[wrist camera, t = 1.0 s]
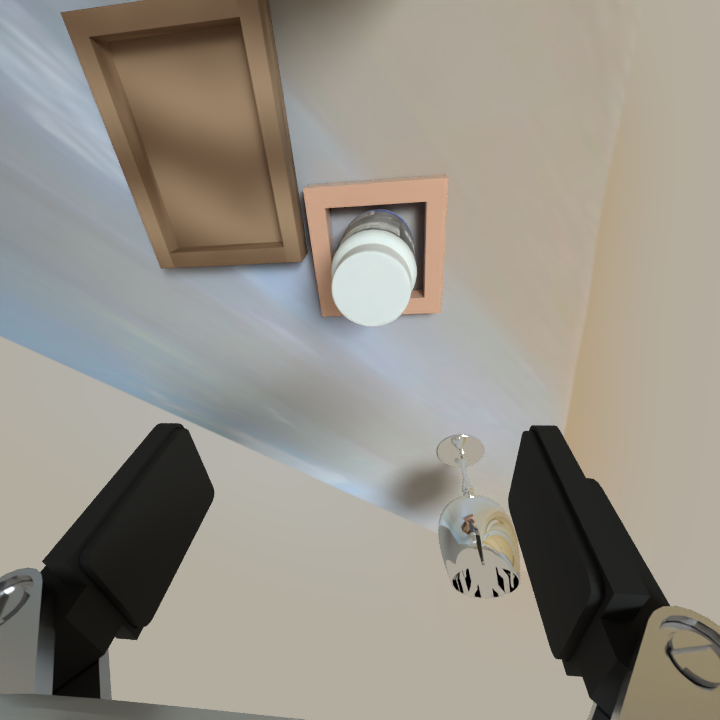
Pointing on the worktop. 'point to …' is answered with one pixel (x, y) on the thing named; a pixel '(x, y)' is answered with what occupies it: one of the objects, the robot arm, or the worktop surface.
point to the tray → (197, 126)
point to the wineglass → (476, 531)
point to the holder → (380, 193)
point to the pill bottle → (374, 268)
